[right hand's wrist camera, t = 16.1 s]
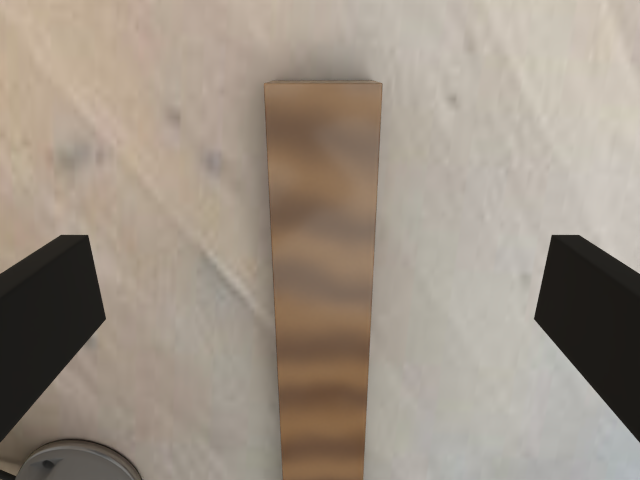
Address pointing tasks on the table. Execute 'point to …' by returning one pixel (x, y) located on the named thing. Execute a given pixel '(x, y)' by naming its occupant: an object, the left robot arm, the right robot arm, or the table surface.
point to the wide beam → (323, 267)
